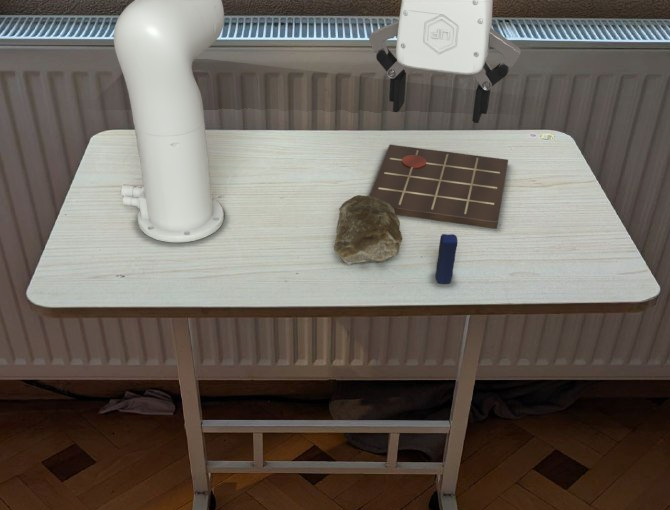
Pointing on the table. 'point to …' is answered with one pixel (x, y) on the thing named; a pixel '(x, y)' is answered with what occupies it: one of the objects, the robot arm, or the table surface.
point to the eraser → (446, 258)
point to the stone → (367, 231)
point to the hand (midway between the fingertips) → (437, 112)
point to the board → (442, 185)
